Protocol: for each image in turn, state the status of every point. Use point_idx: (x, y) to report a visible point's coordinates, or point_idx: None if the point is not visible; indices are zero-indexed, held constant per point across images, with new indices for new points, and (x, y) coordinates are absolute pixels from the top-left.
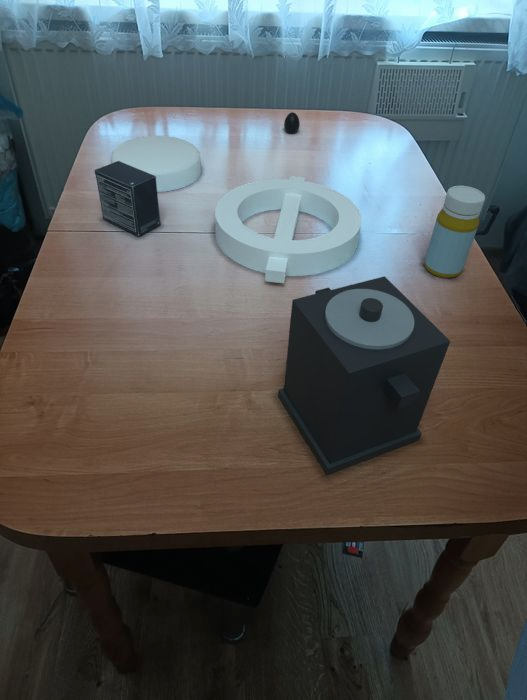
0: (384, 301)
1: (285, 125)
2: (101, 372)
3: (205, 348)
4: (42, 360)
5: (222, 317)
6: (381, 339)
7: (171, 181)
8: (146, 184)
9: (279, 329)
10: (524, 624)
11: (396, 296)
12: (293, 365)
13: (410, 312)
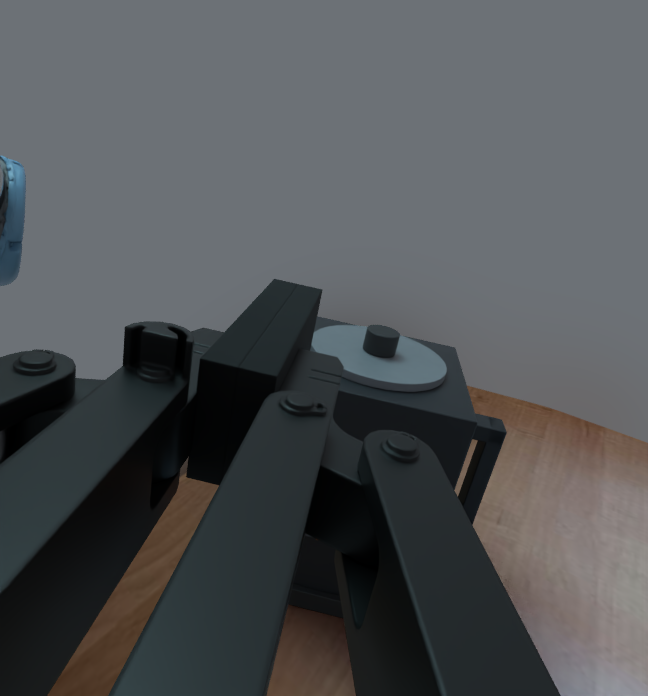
0: (399, 372)
1: None
2: (507, 433)
3: (528, 505)
4: (535, 417)
5: (601, 552)
6: (327, 334)
7: None
8: None
9: (560, 597)
10: (20, 261)
11: (411, 400)
12: None
13: (356, 373)
